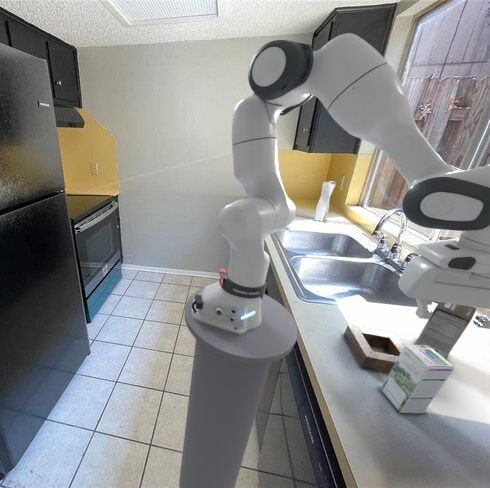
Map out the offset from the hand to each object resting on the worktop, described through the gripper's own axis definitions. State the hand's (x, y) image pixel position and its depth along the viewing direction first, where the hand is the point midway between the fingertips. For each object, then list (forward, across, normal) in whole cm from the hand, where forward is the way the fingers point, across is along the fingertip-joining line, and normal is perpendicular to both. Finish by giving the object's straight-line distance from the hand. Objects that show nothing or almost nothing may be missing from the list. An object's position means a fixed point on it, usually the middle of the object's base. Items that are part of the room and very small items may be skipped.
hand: (450, 321), depth 50 cm
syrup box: (+23, 0, 0) cm, 23 cm away
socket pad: (+23, -1, -14) cm, 27 cm away
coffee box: (+23, -16, -19) cm, 34 cm away
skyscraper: (+22, -21, -144) cm, 147 cm away
